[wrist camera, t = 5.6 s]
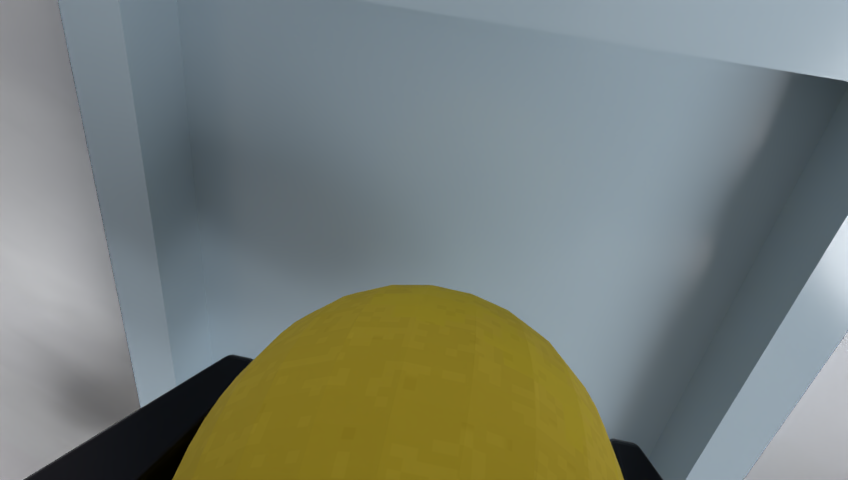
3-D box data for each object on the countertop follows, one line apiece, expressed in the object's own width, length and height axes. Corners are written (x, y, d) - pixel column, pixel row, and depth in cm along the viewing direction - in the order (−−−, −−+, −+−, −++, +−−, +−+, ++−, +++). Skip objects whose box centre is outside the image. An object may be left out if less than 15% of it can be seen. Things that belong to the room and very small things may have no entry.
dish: (923, 2, 8) (1063, 22, 6) (641, 500, 15) (662, 594, 13) (144, -118, 9) (30, -136, 7) (204, 401, 16) (154, 474, 14)
